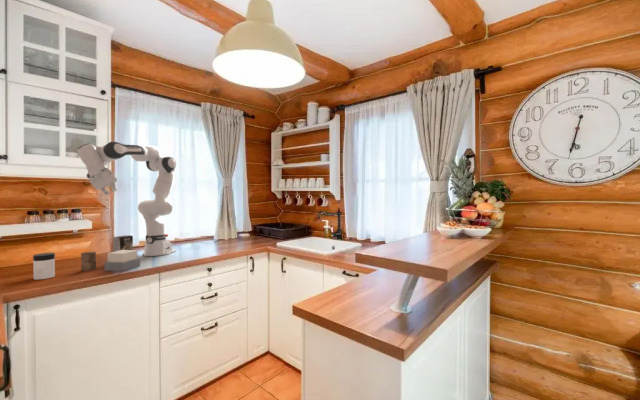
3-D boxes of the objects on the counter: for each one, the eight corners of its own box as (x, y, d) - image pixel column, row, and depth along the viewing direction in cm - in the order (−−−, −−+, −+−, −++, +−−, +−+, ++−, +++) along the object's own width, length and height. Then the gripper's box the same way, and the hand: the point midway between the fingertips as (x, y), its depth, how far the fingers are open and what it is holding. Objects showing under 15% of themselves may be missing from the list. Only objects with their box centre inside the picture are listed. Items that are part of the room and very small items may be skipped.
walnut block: (88, 268, 164) (88, 251, 164) (95, 269, 164) (95, 251, 163) (81, 270, 160) (81, 253, 159) (88, 271, 159) (88, 253, 159)
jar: (27, 280, 142) (27, 256, 142) (39, 275, 150) (39, 253, 149) (49, 279, 144) (48, 255, 144) (59, 274, 152) (59, 252, 152)
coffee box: (121, 263, 178) (121, 237, 178) (112, 262, 179) (112, 237, 179) (133, 259, 187) (133, 235, 187) (125, 259, 188) (125, 235, 188)
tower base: (121, 265, 172) (121, 257, 172) (139, 266, 171) (139, 258, 171) (104, 271, 160) (104, 262, 160) (123, 272, 159) (123, 263, 159)
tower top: (121, 258, 171) (121, 249, 171) (137, 258, 170) (137, 250, 170) (107, 261, 161) (107, 253, 161) (123, 262, 160) (123, 253, 160)
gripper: (112, 165, 163) (125, 187, 166) (96, 173, 173) (108, 194, 176) (101, 168, 157) (114, 191, 161) (85, 176, 167) (97, 198, 171)
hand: (110, 192), depth 168 cm, fingers open, 8 cm apart
